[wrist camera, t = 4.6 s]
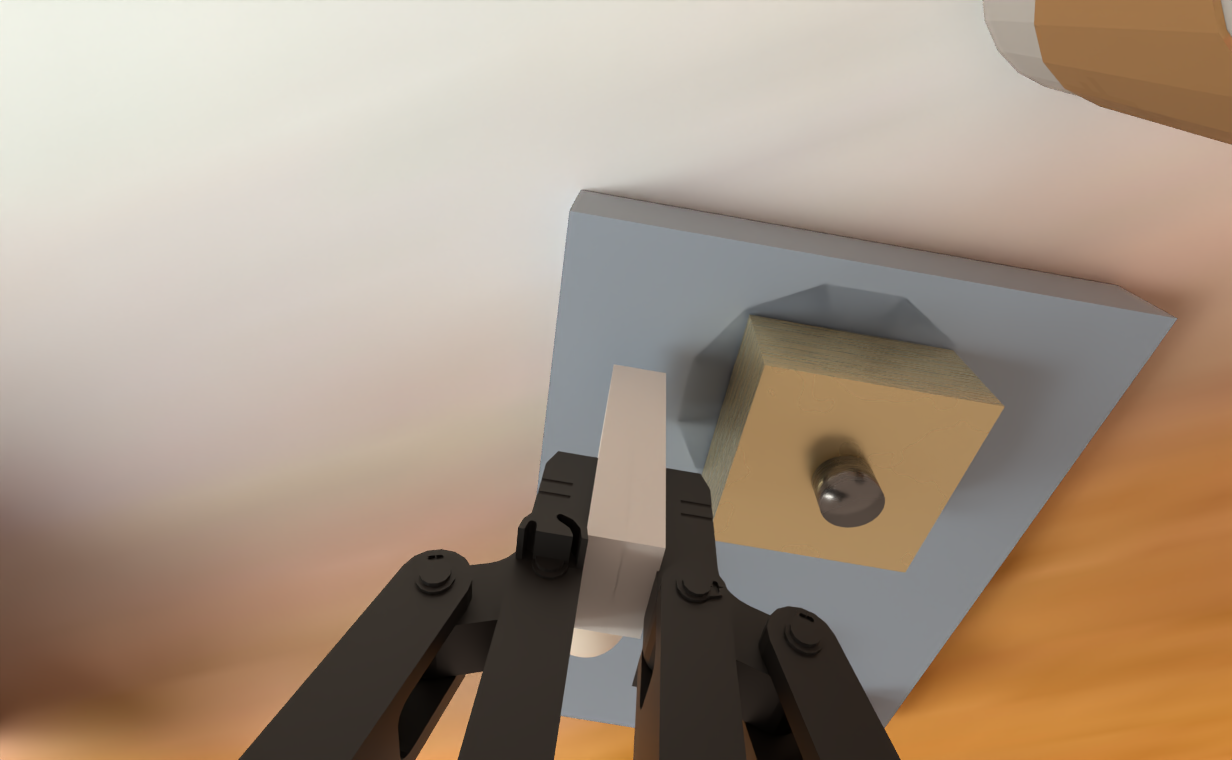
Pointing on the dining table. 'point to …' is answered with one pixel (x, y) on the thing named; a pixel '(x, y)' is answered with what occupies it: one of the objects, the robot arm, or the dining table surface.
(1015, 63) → the coffee cup
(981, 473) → the board
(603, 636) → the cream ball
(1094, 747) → the dining table surface
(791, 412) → the brass cover
